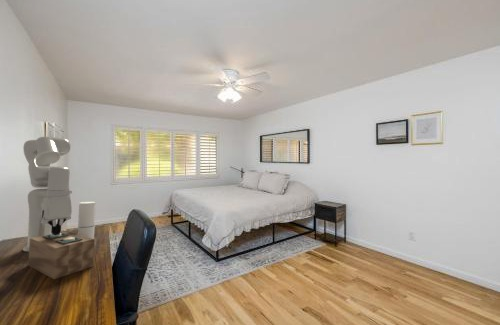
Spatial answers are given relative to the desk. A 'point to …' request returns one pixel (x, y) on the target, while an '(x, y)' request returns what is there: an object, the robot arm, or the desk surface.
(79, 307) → the desk surface
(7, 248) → the desk surface
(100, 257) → the desk surface
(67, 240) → the peg
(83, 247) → the walnut block
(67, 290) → the desk surface
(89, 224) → the cylindrical container
